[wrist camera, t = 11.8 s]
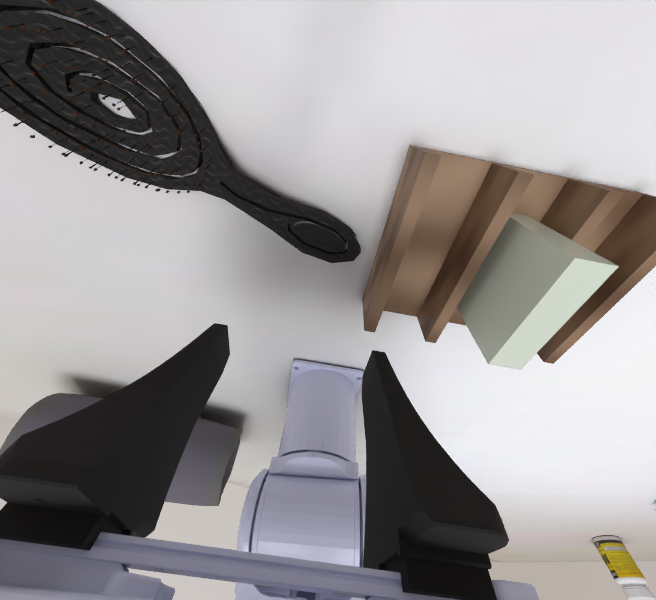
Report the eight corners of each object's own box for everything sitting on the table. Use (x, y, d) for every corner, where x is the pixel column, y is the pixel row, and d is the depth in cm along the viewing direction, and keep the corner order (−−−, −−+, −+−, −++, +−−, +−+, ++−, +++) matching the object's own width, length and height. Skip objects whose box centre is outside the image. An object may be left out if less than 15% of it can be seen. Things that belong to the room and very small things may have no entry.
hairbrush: (328, 307, 21) (-87, 98, 13) (329, 282, 23) (-10, 100, 16) (398, 221, 16) (-166, -165, 9) (388, 203, 19) (-39, -96, 12)
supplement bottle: (590, 536, 54) (624, 597, 47) (618, 534, 52) (658, 597, 45) (593, 542, 56) (627, 601, 49) (620, 540, 54) (659, 601, 47)
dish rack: (525, 329, 23) (553, 363, 20) (362, 300, 23) (364, 330, 20) (640, 192, 16) (712, 211, 13) (409, 145, 16) (425, 152, 13)
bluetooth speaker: (247, 407, 34) (216, 497, 26) (242, 439, 40) (214, 522, 32) (67, 368, 32) (-29, 453, 24) (87, 407, 37) (15, 488, 29)
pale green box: (474, 300, 21) (520, 369, 15) (450, 296, 21) (488, 364, 15) (527, 215, 17) (618, 266, 11) (498, 209, 17) (575, 258, 11)
